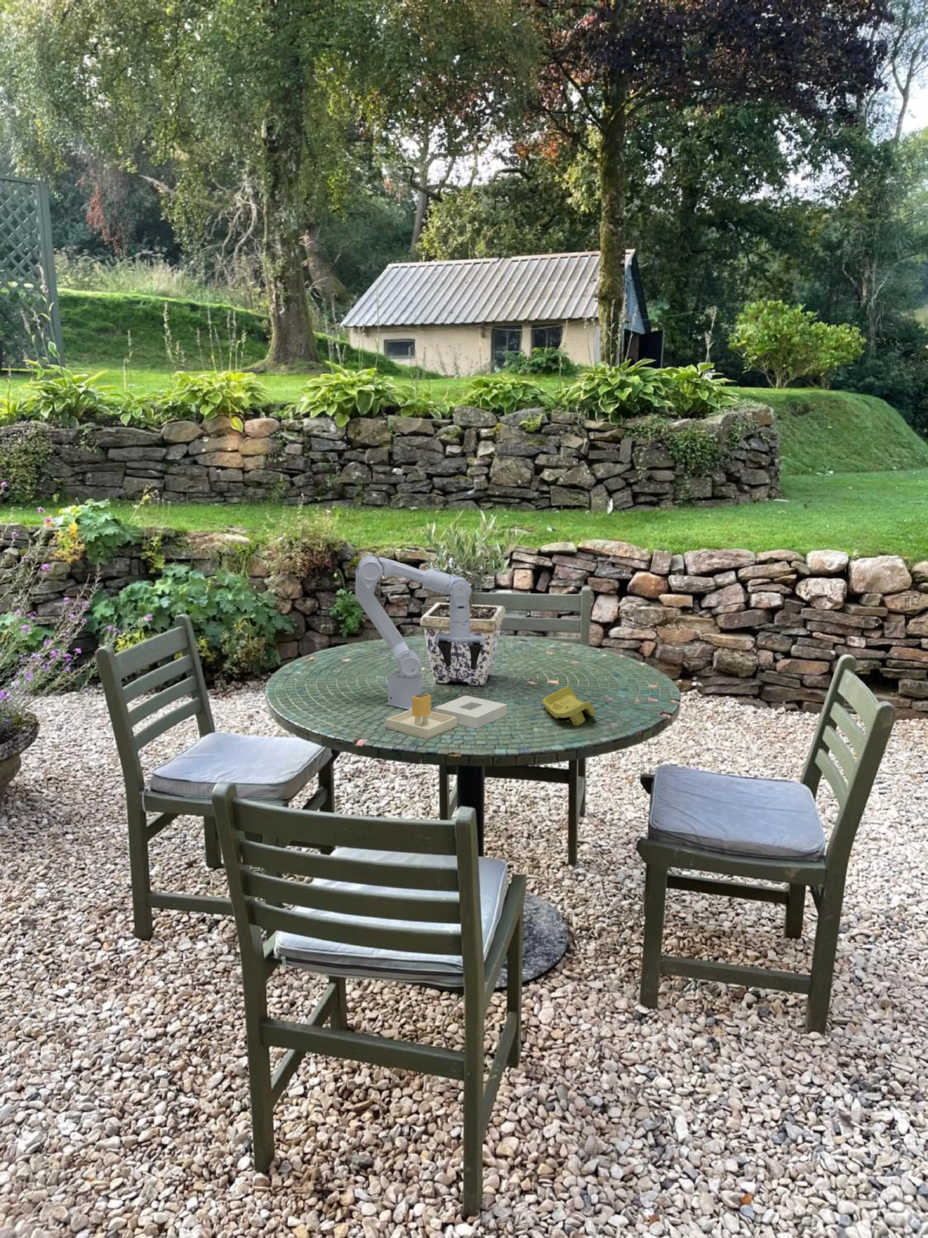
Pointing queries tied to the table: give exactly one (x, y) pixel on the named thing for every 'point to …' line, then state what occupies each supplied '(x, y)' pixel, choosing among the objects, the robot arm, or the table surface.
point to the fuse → (421, 708)
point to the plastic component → (567, 706)
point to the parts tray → (434, 727)
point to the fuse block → (473, 711)
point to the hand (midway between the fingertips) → (461, 667)
